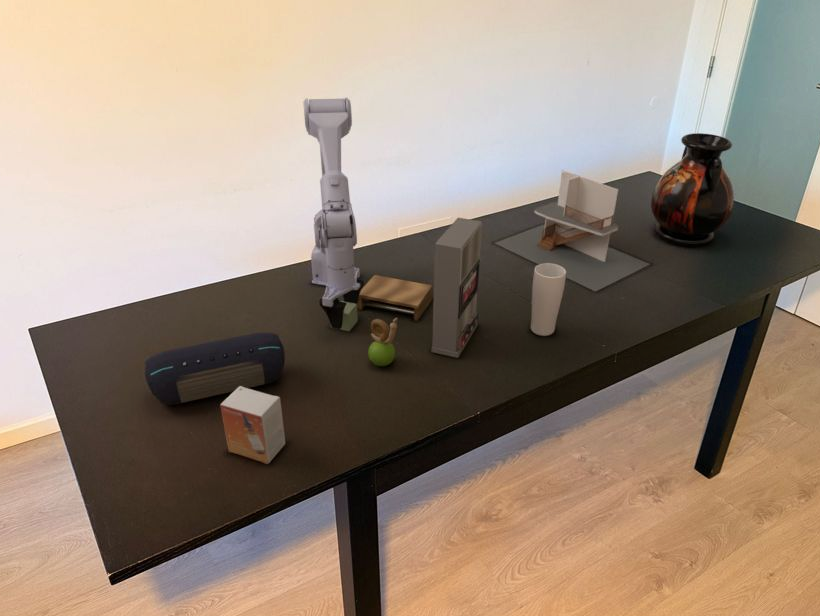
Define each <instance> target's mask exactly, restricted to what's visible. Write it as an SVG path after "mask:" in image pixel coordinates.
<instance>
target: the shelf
mask: <svg viewBox="0 0 820 616" xmlns="http://www.w3.org/2000/svg"><path fill="white" fill-rule="evenodd" d="M432 300H433V285H432V284H426V283H422V282H415V281H409V280H405V279H404V280H403V279H400V278H399V279H398V278H393V277H389V276H382V275H378V274H374V275H373V276H372V277H371V278H370V279H369V280H368V281H367V282H366V284H364V285H363V287H362V289H361V292H360V294H359V298H358V303H357V310H359V311H360V310H361V311H363V309H364V308H365V307H366V306H367V307H370V308H371V307H372V308H377V309H383V310H386V311H387V310H388V311H393V312H396V313H402V314H407V315H412V316H413V321H415V322H418V321H419V320H420V318H421V316H422V315H423V314H424V313H425V311H426V309H427V308H428V306H429V305H430V304H431V302H432ZM373 301H375V302H373ZM379 302H380V303H379ZM383 303H384V304H383ZM385 303H386V304H385ZM388 304H389V305H388ZM391 304H392V305H391ZM394 305H395V306H394ZM398 306H401V307H398ZM405 307H406V308H405ZM408 308H412V309H408Z"/></svg>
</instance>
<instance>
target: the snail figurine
mask: <svg viewBox="0 0 820 616" xmlns="http://www.w3.org/2000/svg"><path fill="white" fill-rule="evenodd" d="M397 322H398V317H395V318H394V319H392V322H390V324H389V325H388V324H387V322H386V321H384V320H383V319H380V318H375V319H373V320H372V321H371V323H370V330H371V333H370V335H371V336H370V337H372V339H373V340H374V341H373V342H372V343H371V344H370V345H369V347H368V349H367V350H368V351H367V352H368V353H367V355H368V359H369V360H370V362H371V363H372V364H374V365H375V366H378V367H386V366H388V365H390V364H392V362H394V360H395V357H396V349H395V346H394V344H393V343H392V342H393V341H394V339H395V337H396V333H397V332H396V331H397V329H398V325H397Z"/></svg>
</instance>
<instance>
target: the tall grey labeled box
mask: <svg viewBox="0 0 820 616" xmlns="http://www.w3.org/2000/svg"><path fill="white" fill-rule="evenodd" d="M482 229H483V221H481V220H475V219H469V218H463V217H457V218H456V219H455V220H454V222H453V223H451V225H450V226H449V227H448V228H447V229H446V230H445V232H443V234H442V235H441V236H440V237H439V238H438V240H437V241H436V242H435V243H434V262H433V263H434V265H433V266H434V267H433V268H434V269H433V306H432V313H433V314H432V340H431V341H432V342H431V344H432V345H431V347H430V349H431V351H430V352H431V353H435V354H439V355H443V356H446V357H450V358H451V357H452V358H457V359H459V357H460V355H462V352H463V350H464V349H465V347H466V345H467V344H468V342H469V340H470V339H471V337H472V336H473V334H474V332H475V330H476V328H477V327H478V326H479V311H477V301H478V291H479V277H480V262H481V261H480V259H481V245H482V244H481V243H482Z"/></svg>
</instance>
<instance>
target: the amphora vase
mask: <svg viewBox="0 0 820 616" xmlns="http://www.w3.org/2000/svg"><path fill="white" fill-rule="evenodd" d="M680 142H681V144H682V145H683V146H684V149H683V153H682V156H681V159H680V160H679V161H678V162H676V163H675V164H674V165H672V166H671V167H669V168H668V169H667V170H666V171H665V172H664V173H663V174H662V176H661V177H660V178H659V180H658V181H657V183H656V185H655V186H654V189H653V192H652V194H651V201H650V208H651V213H652V215H653V218H654V219H655V221H656V222H657V223H656V224H655V225H654V233H655V234H656V236H657V237H659V238H660V239H661V240H663V241H664V242H667V243H669V244H673V245H675V246H680V247H687V248H689V247H690V248H695V247H703V246H707V245H708V244H711V243H712V242H713V240H714V239H715V232H716V231H717V230H719V229H720V228H722V227H723V226H724V225H725V224H726V223H727V221H728V220H729V219H730V217H731V214H732V211H733V208H734V200H735V196H734V195H735V194H734V188H733V183H732V180H731V178H730V176H729V175H728V173H727V171H726V170H725V168H724V167H723V162H722V159H721V157H722V154H723V153H724V152H727V151H729V150H731V149H732V147H733V143H732V141H731V140H729V139H728V138H726V137H725V136H721V135H717V134H709V133H702V132H700V133H697V132H696V133H688V134H685V135H683V136H682V137H681V138H680Z"/></svg>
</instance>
